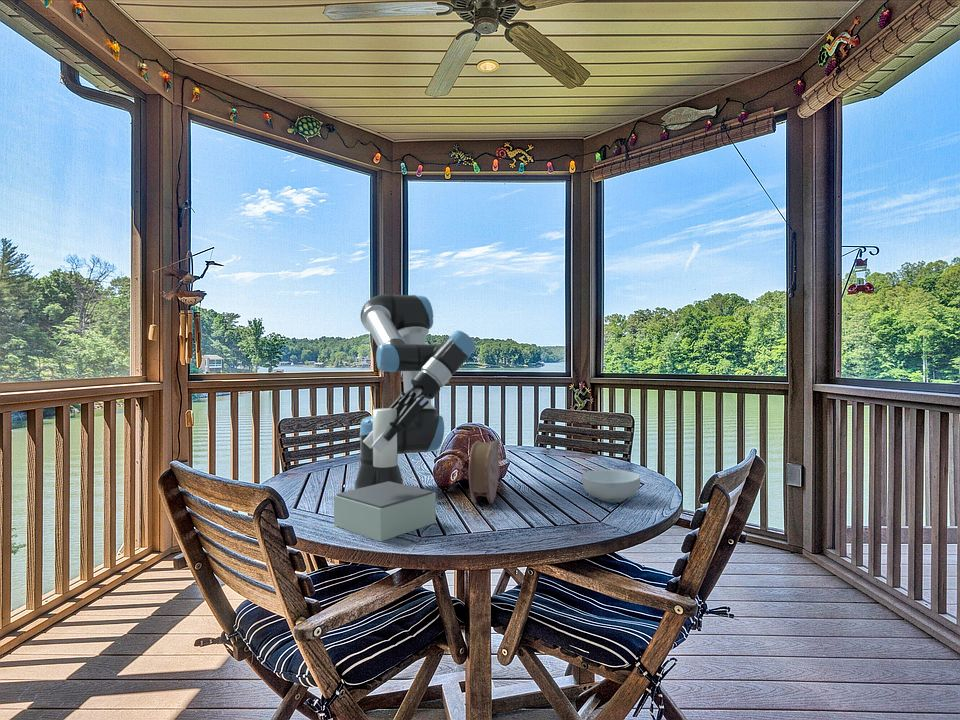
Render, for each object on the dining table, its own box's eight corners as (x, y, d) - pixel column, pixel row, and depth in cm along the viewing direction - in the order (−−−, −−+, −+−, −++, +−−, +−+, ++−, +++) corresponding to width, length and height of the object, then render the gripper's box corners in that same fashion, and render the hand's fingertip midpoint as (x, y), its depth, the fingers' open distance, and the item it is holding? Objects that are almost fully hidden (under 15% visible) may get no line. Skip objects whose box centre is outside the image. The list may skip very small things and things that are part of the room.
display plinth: (334, 525, 138) (333, 493, 138) (389, 509, 152) (389, 480, 152) (380, 541, 127) (380, 507, 126) (435, 522, 140) (435, 491, 140)
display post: (368, 465, 139) (367, 409, 138) (386, 461, 143) (386, 407, 143) (383, 468, 135) (383, 411, 134) (402, 464, 139) (401, 409, 139)
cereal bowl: (593, 488, 174) (593, 466, 174) (646, 496, 165) (646, 472, 165) (573, 501, 159) (573, 477, 159) (630, 510, 151) (631, 484, 151)
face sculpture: (492, 508, 153) (492, 448, 153) (468, 507, 154) (467, 447, 154) (500, 489, 173) (500, 436, 172) (479, 489, 174) (479, 436, 174)
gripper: (456, 391, 138) (395, 463, 130) (425, 387, 154) (369, 450, 147) (437, 370, 135) (373, 443, 127) (407, 368, 152) (349, 432, 144)
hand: (371, 447), depth 137 cm, fingers closed on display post, 6 cm apart
